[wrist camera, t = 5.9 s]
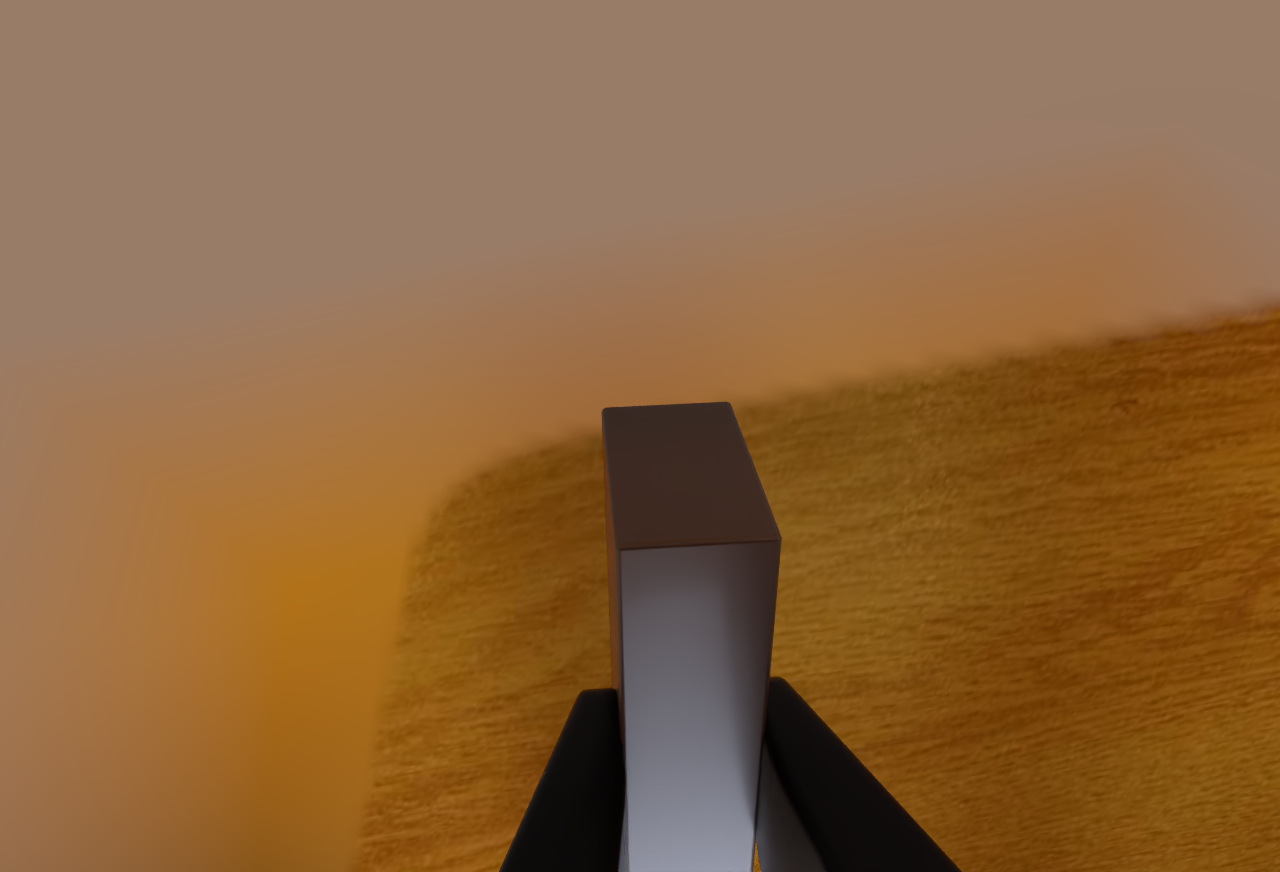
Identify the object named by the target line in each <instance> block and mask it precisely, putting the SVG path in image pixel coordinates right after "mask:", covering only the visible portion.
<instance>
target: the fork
mask: <svg viewBox="0 0 1280 872" xmlns="http://www.w3.org/2000/svg"><path fill="white" fill-rule="evenodd" d="M602 433H603V459H604V485H605V511H606V537H607V563H608V590H609V616H610V642H611V668H612V688H614V689H616V693H617V704H618V716H619V727H620V738H621V742H622V745H623V747H624V757H625V768H626V796H627V832H628V868H629V872H753V866H754V854H755V843H756V837H755V826H756V815H757V803H758V792H759V780H760V769H761V757H762V746H763V736H764V733H765V726H766V715H767V703H768V691H769V680H770V668H771V657H772V645H773V633H774V622H775V610H776V598H777V587H778V575H779V564H780V552H781V540H782V537H781V535H780V532H779V529H778V527H777V524H776V522H775V519H774V516H773V514H772V511H771V509H770V506H769V503H768V501H767V498H766V495H765V493H764V490H763V488H762V485H761V482H760V480H759V477H758V475H757V472H756V469H755V467H754V464H753V461H752V459H751V456H750V454H749V451H748V448H747V446H746V443H745V441H744V438H743V435H742V433H741V430H740V427H739V425H738V422H737V420H736V417H735V414H734V412H733V409H732V407H731V404H730V403H729V402H713V403H693V404H672V405H652V406H632V407H611V408H604V409H603V411H602Z"/></svg>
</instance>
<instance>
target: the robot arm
mask: <svg viewBox="0 0 1280 872" xmlns="http://www.w3.org/2000/svg"><path fill="white" fill-rule="evenodd" d="M755 837H756V843H757V850H758V856H759V862H760V868H761V872H962V871H961V870H960V869H959V868H958V867H957V866H956V865H955V864H954V863H953V861H952V860H951V859H950V858H949V857H948V856H947V855H946V854H945V853H944V852H943V851H942V850H941V848H940V847H939V846H938V845H937V844H936V843H935V842H934V841H933V840H932V839H931V838H930V837H929V835H928V834H927V833H926V832H925V831H924V830H923V829H922V828H921V827H920V826H919V825H918V823H917V822H916V821H915V820H914V819H913V818H912V817H911V816H910V815H909V814H908V813H907V812H906V810H905V809H904V808H903V807H902V806H901V805H900V804H899V803H898V802H897V801H896V800H895V798H894V797H893V796H892V795H891V794H890V793H889V792H888V791H887V790H886V789H885V788H884V787H883V785H882V784H881V783H880V782H879V781H878V780H877V779H876V778H875V777H874V776H873V775H872V773H871V772H870V771H869V770H868V769H867V768H866V767H865V766H864V765H863V764H862V763H861V762H860V760H859V759H858V758H857V757H856V756H855V755H854V754H853V753H852V752H851V751H850V750H849V748H848V747H847V746H846V745H845V744H844V743H843V742H842V741H841V740H840V739H839V738H838V737H837V735H836V734H835V733H834V732H833V731H832V730H831V729H830V728H829V727H828V726H827V725H826V724H825V722H824V721H823V720H822V719H821V718H820V717H819V716H818V715H817V714H816V713H815V712H814V710H813V709H812V708H811V707H810V706H809V705H808V704H807V703H806V702H805V701H804V700H803V699H802V697H801V696H800V695H799V694H798V693H797V692H796V691H795V690H794V689H793V688H792V687H791V685H790V684H789V683H788V682H787V681H786V680H785V679H783V678H781V677H770V680H769V691H768V703H767V715H766V726H765V733H764V736H763V746H762V757H761V769H760V780H759V792H758V803H757V815H756V826H755ZM499 872H629V868H628V832H627V796H626V768H625V757H624V747H623V745H622V742H621V738H620V727H619V716H618V704H617V693H616V689H614V688H602V689H587V690H583V691H582V692H580V694H579V695H578V697H577V699H576V701H575V703H574V705H573V708H572V710H571V712H570V714H569V717H568V719H567V721H566V723H565V725H564V728H563V730H562V732H561V734H560V737H559V739H558V741H557V743H556V746H555V748H554V750H553V752H552V755H551V757H550V759H549V761H548V763H547V766H546V768H545V770H544V772H543V775H542V777H541V779H540V781H539V784H538V786H537V788H536V790H535V792H534V795H533V797H532V799H531V801H530V804H529V806H528V808H527V810H526V813H525V815H524V817H523V819H522V821H521V824H520V826H519V828H518V830H517V833H516V835H515V837H514V839H513V842H512V844H511V846H510V848H509V850H508V853H507V855H506V857H505V859H504V862H503V864H502V866H501V868H500V871H499Z"/></svg>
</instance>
